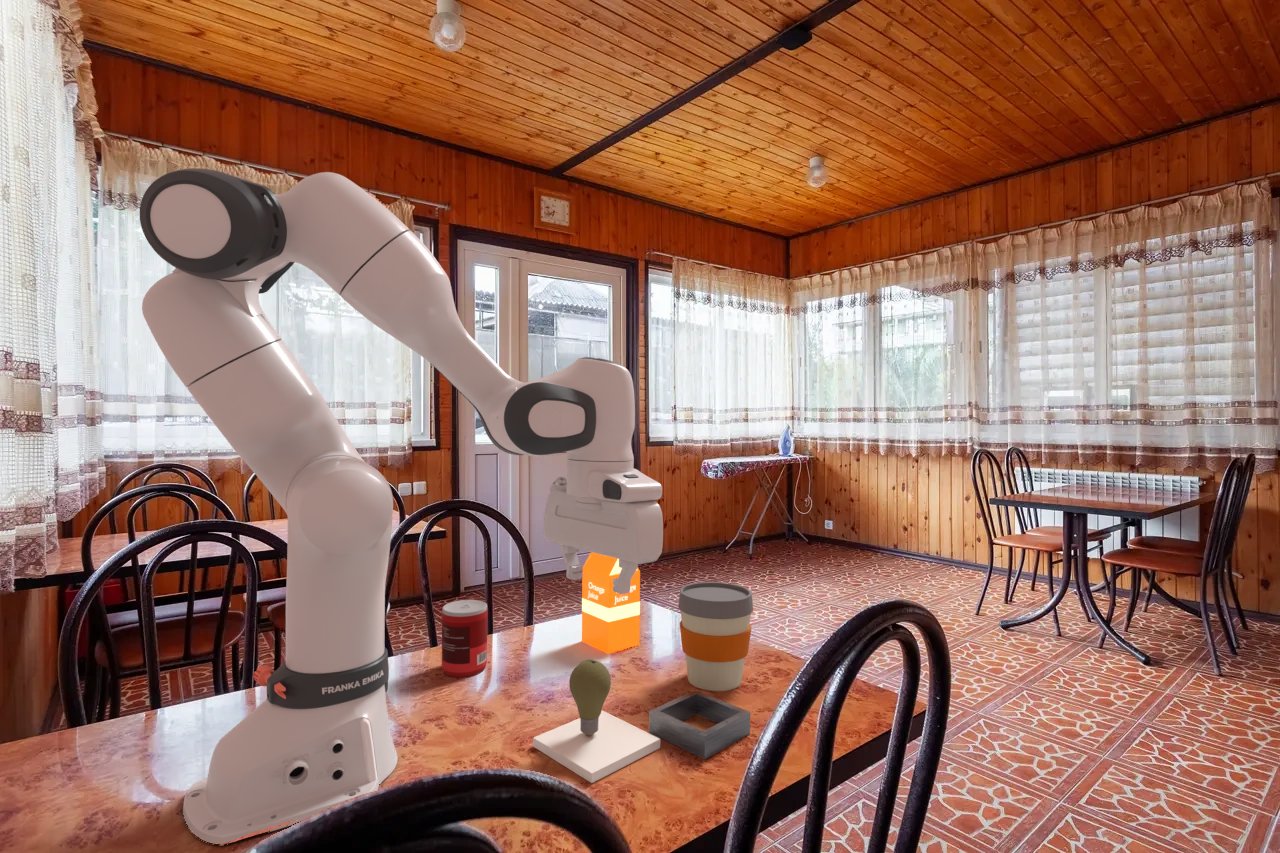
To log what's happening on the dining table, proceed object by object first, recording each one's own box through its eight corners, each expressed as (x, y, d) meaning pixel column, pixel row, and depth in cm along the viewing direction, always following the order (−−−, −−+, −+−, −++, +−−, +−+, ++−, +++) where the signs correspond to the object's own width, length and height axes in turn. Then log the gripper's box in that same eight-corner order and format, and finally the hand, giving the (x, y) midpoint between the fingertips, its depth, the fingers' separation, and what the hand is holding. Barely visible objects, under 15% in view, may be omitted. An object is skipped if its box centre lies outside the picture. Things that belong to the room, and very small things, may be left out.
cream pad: (591, 783, 78) (592, 773, 78) (533, 746, 86) (533, 737, 86) (660, 747, 86) (660, 738, 86) (600, 717, 95) (600, 709, 95)
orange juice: (612, 633, 132) (613, 535, 131) (640, 645, 125) (641, 542, 124) (580, 641, 127) (581, 539, 126) (607, 654, 120) (608, 547, 119)
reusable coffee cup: (672, 692, 104) (674, 599, 103) (681, 662, 116) (682, 579, 116) (752, 699, 101) (753, 604, 101) (752, 668, 114) (753, 583, 114)
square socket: (704, 759, 83) (704, 736, 83) (649, 732, 90) (649, 710, 90) (749, 733, 90) (750, 712, 90) (695, 709, 97) (695, 690, 97)
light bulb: (613, 726, 89) (614, 654, 89) (606, 746, 84) (607, 670, 84) (573, 723, 90) (574, 652, 90) (564, 743, 85) (565, 667, 84)
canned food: (483, 657, 117) (484, 597, 117) (490, 674, 110) (490, 610, 110) (439, 663, 115) (440, 601, 114) (443, 680, 107) (443, 614, 107)
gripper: (534, 476, 91) (531, 574, 91) (636, 489, 76) (633, 606, 76) (569, 474, 95) (566, 568, 95) (672, 487, 81) (669, 597, 81)
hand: (597, 585), depth 86 cm, fingers open, 8 cm apart
